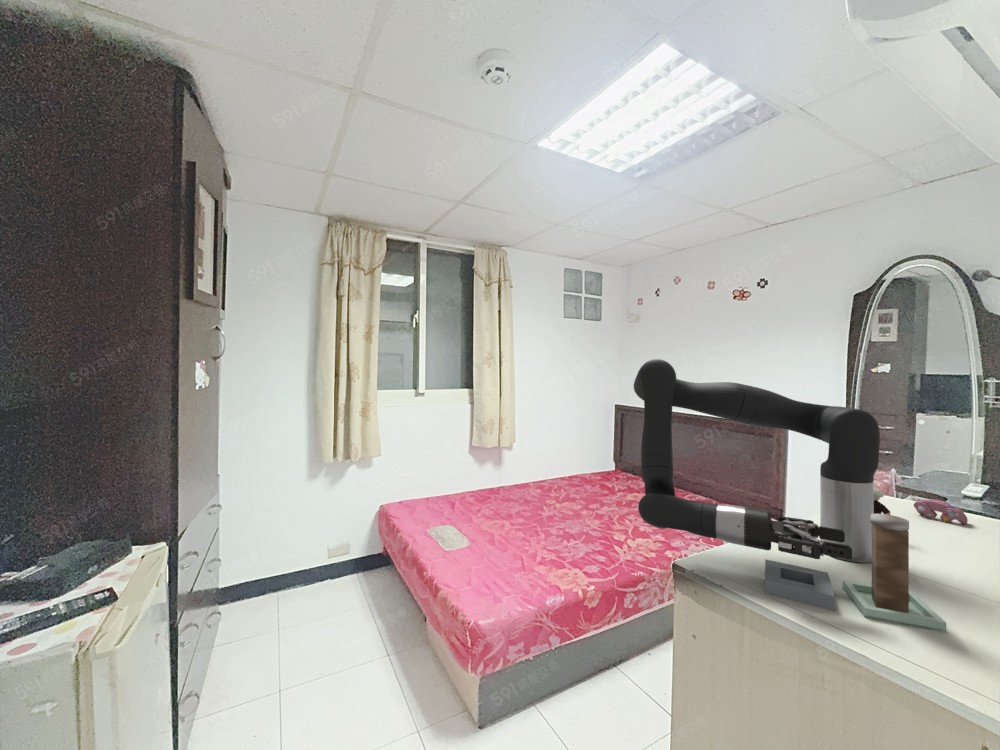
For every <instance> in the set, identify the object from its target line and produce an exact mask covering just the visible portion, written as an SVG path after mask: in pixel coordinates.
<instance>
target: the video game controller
mask: <svg viewBox="0 0 1000 750" xmlns="http://www.w3.org/2000/svg"><path fill="white" fill-rule="evenodd" d="M913 507H914V509H915V510H916V512H917V513H918V514H919V515H924V516H925V517H926V518H927V519H931V518H933V519H932V520H934V519H935V518H937V517H938V513H942V514H941V515H940V516H939V518H940V520H941V521H942V522H944V521H947V522H946V523H948V522H950V523H952V522H953V521H954V520H956V521H958V522H959V523H960V524H962V523H964V524H963V525H967V524H968V521H969V519H968V517H967V515H966V514H965V513H964V510H962V508H960V507H958V506H957V505H956V504H954V503H948V502H947V501H943V500H940V499H935V498H934V499H933V498H930V499H927V498H923V497H922V498H921V499H918V500H915V502H914V503H913ZM937 512H938V513H937Z"/></svg>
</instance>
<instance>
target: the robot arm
mask: <svg viewBox="0 0 1000 750" xmlns="http://www.w3.org/2000/svg"><path fill="white" fill-rule="evenodd" d="M633 391H634V393H635V394H636V395H637V397H638V398H639V399H641V400H642V401H643V402H644V403H643V405H644V406H643V407H644V410H643V412H644V416H643V427H642V437H641V443H640V444H641V447H640V473H641V479H642V481H643V483H644V493H645V495H643V496H642V497H641V498H640V500H639V502H638V507H637V509H638V513H639V516H640V517H641V519H642V520H643V521H644V522H645V523H646V524H648V525H650V526H652V527H655V528H656V529H672V530H678V531H684V532H688V533H691V534H694V535H697V536H699V537H705V538H709V539H714V540H715V539H716V540H720V541H723V542H725V543H730V544H733V545H740V546H743V547H748V548H754V549H758V550H764V551H771V549H772V543H774V544H777V545H778V546H777V547H778V548H777V550H778V551H779V552H781V553H786V554H792V555H795V556H801V557H805V558H808V559H809V558H810V559H814V560H820V558H821V557H824V556H828V557H834V558H837V559H839V560H844V561H848V562H852V563H872V523H871V514H874V492H873V486H874V479H875V478H874V477H875V473H876V471H877V470H878V468H879V460H880V447H881V446H880V444H881V443H880V442H881V433H880V426H879V424H878V422H877V420H876V418H875V417H874V416H873V415H872V414H871V413H870V412H868V411H865V410H863V409H859V408H853V407H847V406H838V405H837V406H836V405H835V406H834V405H824V404H819V403H818V404H815V403H810V402H804V401H800V400H799V401H798V400H796V399H792V398H789V397H787V396H785V395H781V394H779V393H777V392H774V391H771V390H767V389H764V388H761V387H757V386H752V385H747V384H744V383H739V382H733V381H732V382H730V381H729V382H728V381H727V382H725V381H720V382H692V381H691V382H690V381H686V380H682V379H678V378H677V374H676V371H675V369H674V366H673V365H671V364H670V363H669V362H667V360H664V359H659V358H653V359H650V360H648V361H646V362H645V363H644V364H643V365H642V366H640V368H639V370H638V372H637V374H636V376H635V378H634V382H633ZM673 407H675V408H680V409H686V410H691V411H695V412H698V413H701V414H706V415H710V416H714V417H717V418H721V419H725V420H728V421H732V422H736V423H741V424H745V425H748V426H749V425H750V426H754V427H761V428H767V429H780V430H788V431H792V432H795V433H798V434H802V435H805V436H808V437H810V438H814V439H816V440H819V441H822V442H824V443H827V444H828V455H827V459H826V460H825V461H823V462H822V463H821V464H820V467H819V468H820V469H819V472H820V474H819V475H820V476H819V478H820V479H819V480H820V487H819V488H820V492H819V493H820V515H819V516H820V525H819V524H817V523H815V522H814V520H811V519H804V518H797V517H795V518H794V517H788V516H782V515H778V516H777V520H772V513H771V511H770V510H767V509H762V508H755V507H748V506H741V505H734V504H721V503H714V502H713V503H712V502H706V501H703V500H702V501H700V500H690V499H686V498H682V497H677V496H676V492H675V486H674V485H675V484H674V458H673V455H674V454H673V453H674V452H673V435H672V434H673V432H672V430H673V429H672V428H673V427H672V425H673V423H672V421H673V420H672V419H673V418H672V417H673Z"/></svg>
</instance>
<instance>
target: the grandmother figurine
mask: <svg viewBox="0 0 1000 750" xmlns="http://www.w3.org/2000/svg"><path fill="white" fill-rule="evenodd" d="M873 492H874V514H887V515H892V514H891V511H890V510H889V509H888V507H886V505H884V504H883V503H882V502H880V499H881V498H882V497H885V496H884V492H882V490H881V489H879V488H878V487H876V486H874V485H873Z"/></svg>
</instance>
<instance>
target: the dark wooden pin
mask: <svg viewBox="0 0 1000 750" xmlns="http://www.w3.org/2000/svg"><path fill="white" fill-rule="evenodd" d="M871 523H872V562H871V585H872V600H873V602H874V604H875V607H877V608H882V609H888V610H894V611H899V612H905V613H909V591H910V590H909V588H910V587H909V584H910V583H909V582H910V579H909V578H910V576H909V573H910V572H909V571H910V569H909V566H910V565H909V564H910V562H909V559H910V558H909V554H910V553H909V545H910V544H909V540H910V539H909V538H910V537H909V536H910V535H909V534H910V533H909V532H910V531H909V530H910V521H909V520H908V519H906V518H904V517H900V516H895V515H892V514H891V515H887V514H883V513H882V514H871Z"/></svg>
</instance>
